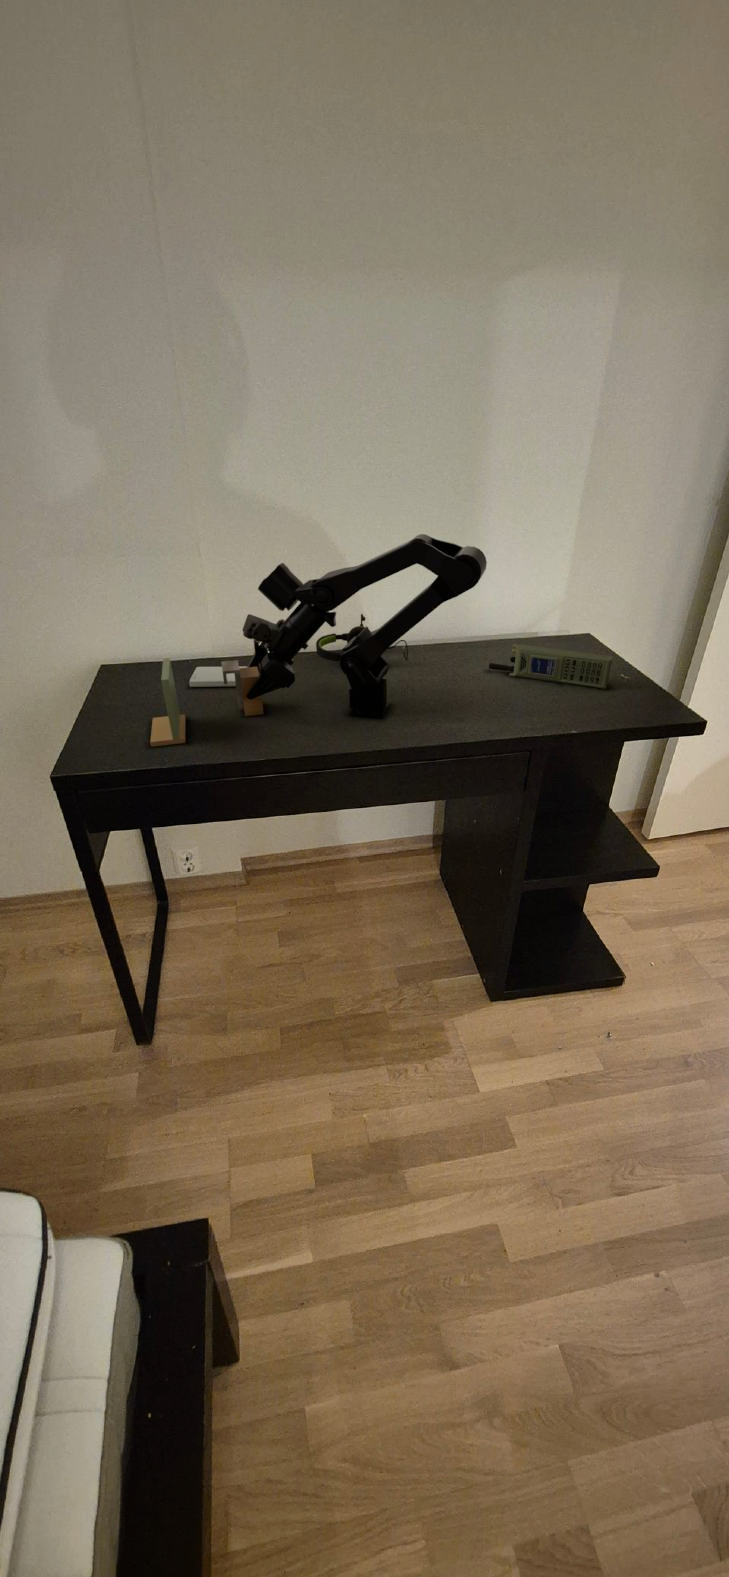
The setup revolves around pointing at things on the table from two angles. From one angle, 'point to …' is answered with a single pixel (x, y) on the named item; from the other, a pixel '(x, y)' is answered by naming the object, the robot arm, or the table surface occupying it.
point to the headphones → (346, 637)
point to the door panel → (173, 724)
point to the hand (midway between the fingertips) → (246, 688)
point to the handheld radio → (559, 666)
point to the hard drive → (211, 677)
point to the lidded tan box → (244, 686)
